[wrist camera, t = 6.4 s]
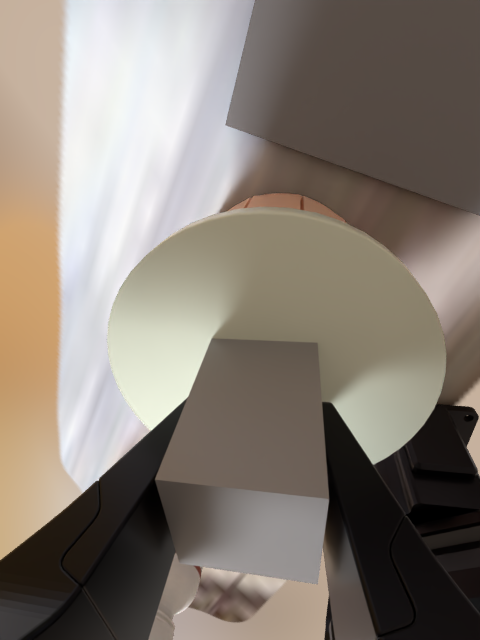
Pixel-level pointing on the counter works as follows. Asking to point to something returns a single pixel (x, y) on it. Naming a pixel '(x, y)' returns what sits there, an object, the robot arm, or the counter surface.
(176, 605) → the pill bottle
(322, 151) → the mat
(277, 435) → the lid
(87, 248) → the counter surface
